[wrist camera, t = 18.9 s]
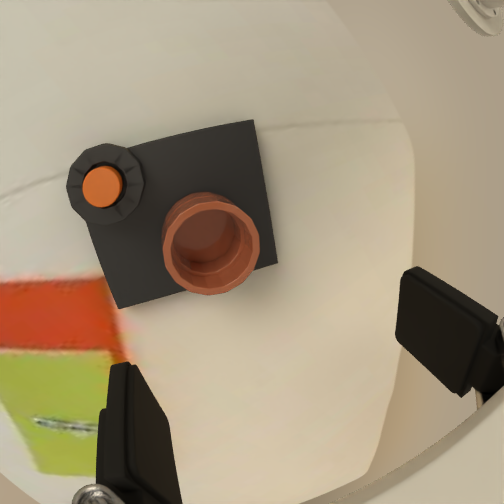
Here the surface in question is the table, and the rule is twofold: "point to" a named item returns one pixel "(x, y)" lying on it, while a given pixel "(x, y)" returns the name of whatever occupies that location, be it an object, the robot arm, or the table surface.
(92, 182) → the tare button
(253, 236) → the small bowl
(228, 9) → the table surface
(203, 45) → the table surface
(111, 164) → the scale
